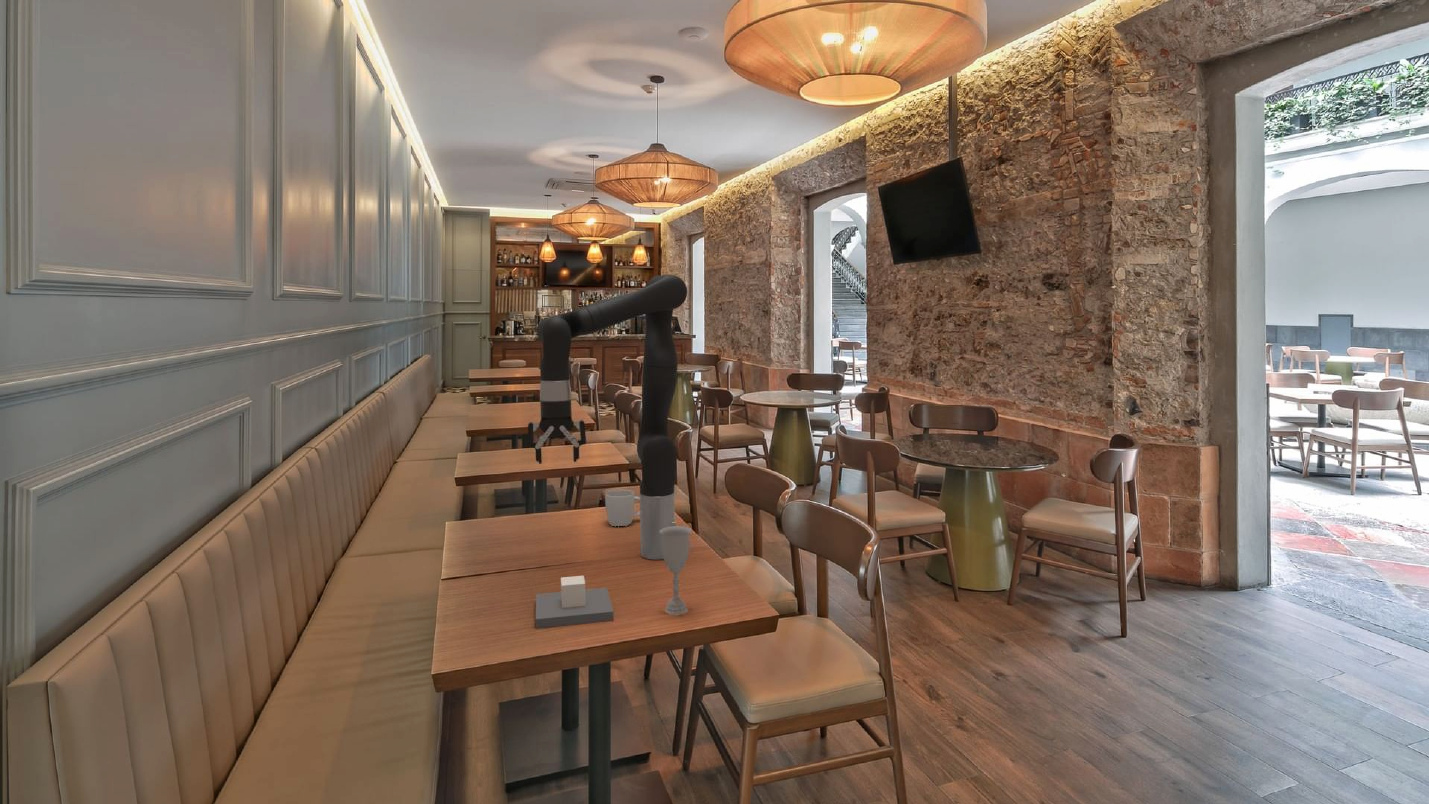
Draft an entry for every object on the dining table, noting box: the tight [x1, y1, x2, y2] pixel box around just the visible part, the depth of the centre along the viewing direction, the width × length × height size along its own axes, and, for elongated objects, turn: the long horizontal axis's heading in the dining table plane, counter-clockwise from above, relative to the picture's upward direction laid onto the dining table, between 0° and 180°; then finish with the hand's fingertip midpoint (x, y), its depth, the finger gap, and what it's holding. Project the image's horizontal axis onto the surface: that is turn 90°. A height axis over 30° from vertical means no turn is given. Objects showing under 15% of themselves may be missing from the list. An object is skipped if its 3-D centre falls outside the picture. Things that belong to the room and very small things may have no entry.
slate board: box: [535, 587, 614, 629], centre depth 157 cm, size 16×14×2 cm
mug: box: [604, 489, 640, 528], centre depth 224 cm, size 13×9×10 cm
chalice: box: [659, 525, 692, 616], centre depth 157 cm, size 7×7×18 cm
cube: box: [560, 575, 586, 608], centre depth 157 cm, size 5×5×5 cm
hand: (557, 462), depth 180 cm, fingers open, 8 cm apart
